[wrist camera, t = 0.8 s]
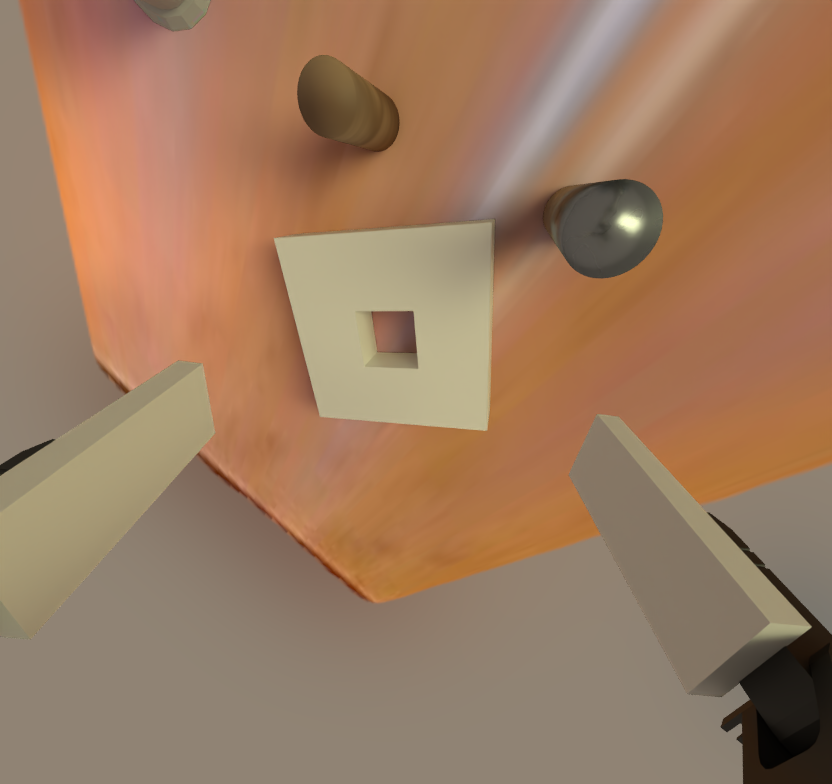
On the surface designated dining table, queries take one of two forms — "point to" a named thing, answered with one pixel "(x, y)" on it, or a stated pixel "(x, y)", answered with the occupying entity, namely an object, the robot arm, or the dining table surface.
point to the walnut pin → (346, 105)
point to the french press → (175, 12)
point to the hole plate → (396, 291)
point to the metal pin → (604, 225)
